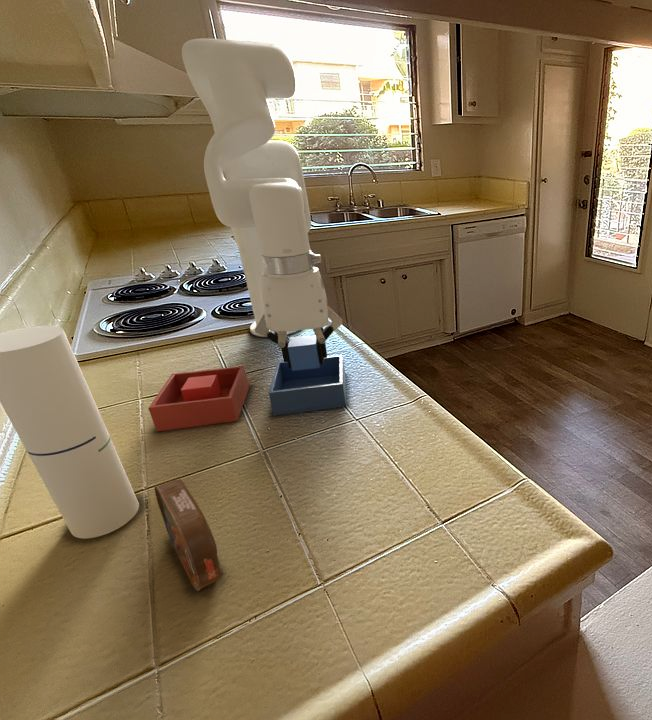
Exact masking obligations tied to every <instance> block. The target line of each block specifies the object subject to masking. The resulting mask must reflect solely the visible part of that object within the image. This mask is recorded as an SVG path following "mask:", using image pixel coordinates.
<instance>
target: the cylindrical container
mask: <svg viewBox="0 0 652 720" xmlns="http://www.w3.org/2000/svg"><path fill="white" fill-rule="evenodd" d="M0 405H1V406H2V408H3V410H4V412H5V414H6V416H7V417H8V420H9V421H10V423H11V425H12V427H13V428H14V430H15V433H16V434H17V436H18V438H19V439H20V442H21V443H22V445H23V447H24V449H25V450H26V452H27V455H28V457H29V458H30V460H31V462H32V464H33V465H34V468H35V469H36V472H37V473H38V475H39V477H40V479H41V480H42V482H43V484H44V486H45V488H46V490H47V492H48V493H49V495H50V497H51V499H52V501H53V503H54V504H55V506H56V508H57V510H58V511H59V514H60V516H61V518H62V519H63V521H64V523H65V525H66V527H67V528H68V530H69V532H70V534H71V535H72V536H73V537H75V538H76V539H77V538H78V539H94V538H98V537H101V536H104V535H107V534H111V533H112V532H115V531H116V530H118V529H120V528H122V527H124V525H126V524H127V523H128V522H130V521H131V520H132V519H133V518H134V517H135V516H136V514H137V513H138V511H139V508H140V502H139V501H138V498H137V496H136V494H135V491H134V489H133V487H132V485H131V482H130V480H129V477H128V475H127V472H126V471H125V468H124V466H123V463H122V461H121V459H120V456H119V454H118V452H117V449H116V447H115V445H114V442H113V439H112V437H111V435H110V433H109V430H108V428H107V426H106V424H105V422H104V419H103V417H102V415H101V413H100V411H99V408H98V406H97V404H96V401H95V399H94V397H93V394H92V392H91V390H90V387H89V385H88V383H87V380H86V377H85V376H84V374H83V371H82V368H81V367H80V364H79V362H78V359H77V357H76V355H75V353H74V350H73V348H72V346H71V344H70V341H69V339H68V336H67V334H66V332H65V329H64V328H63V327H62V326H59V325H52V324H51V325H49V324H45V325H34V326H27V327H20V328H15V329H11V330H6V331H3V332H0Z"/></svg>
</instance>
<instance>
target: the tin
mask: <svg viewBox="0 0 652 720" xmlns="http://www.w3.org/2000/svg"><path fill="white" fill-rule="evenodd" d="M153 487H154V494H155V498H156V502H157V505H158V508H159V511H160V515H161V518H162V521H163V523H164V526H165V529H166V533H167V535H168V537H169V539H170V542H171V544H172V546H173V548H174V550H175V552H176V554H177V557H178V558H179V561H180V562H181V565H182V567H183V569H184V571H185V573H186V575H187V577H188V579H189V581H190V583H191V585H192V587H193V589H194V590H195V591H196V592H199V591H201V590H202V589H203V588H205V587H207V586H209V585H211V584H213V583H215V582H217V581H219V580H220V579H221V578H222V577H223V575H224V572H223V569H222V567H221V564H220V560H219V556H218V548H217V543H216V540H215V537H214V535H213V532H212V529H211V527H210V525H209V522H208V521H207V519H206V516H205V515H204V513H203V512H202V510H201V508H200V507H199V504H198V503H197V502H196V499H195V498H194V496H193V495H192V492H191V491H190V490H189V488H188V487H187V485H186V483H185V482H184V481H183V480H182V479H181V478H177V479H173V480H170V481H168V482H165V483H162V484H160V485H155V486H153Z"/></svg>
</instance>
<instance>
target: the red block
mask: <svg viewBox="0 0 652 720" xmlns="http://www.w3.org/2000/svg"><path fill="white" fill-rule="evenodd" d="M181 392H182V395H183V398H184V401H185V402H188V401H196V400H204V399H213V398H221V397H223V395H222V391H221V388H220V384H219V381H218V377H217V375H209V376H200V377H191V378H188V379H187V381H186V383H185V384H184V386H183V387H182V389H181Z"/></svg>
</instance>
